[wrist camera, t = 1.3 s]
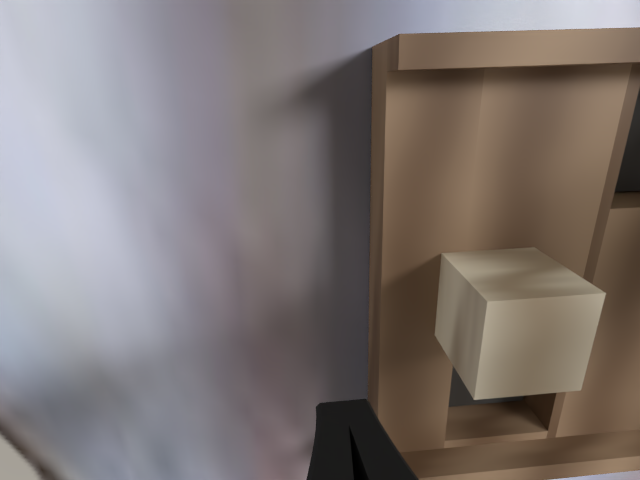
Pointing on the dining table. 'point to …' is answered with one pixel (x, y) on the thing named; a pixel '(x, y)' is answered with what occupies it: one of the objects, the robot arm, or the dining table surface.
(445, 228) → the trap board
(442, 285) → the birch block
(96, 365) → the dining table surface
